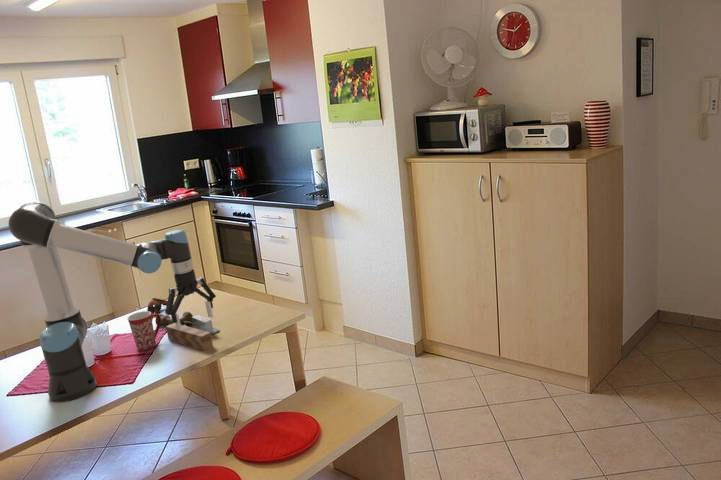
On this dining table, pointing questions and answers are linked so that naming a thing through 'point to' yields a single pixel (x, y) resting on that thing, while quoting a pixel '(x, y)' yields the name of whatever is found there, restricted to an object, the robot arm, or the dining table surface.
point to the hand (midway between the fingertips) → (195, 323)
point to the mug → (144, 329)
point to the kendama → (183, 321)
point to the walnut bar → (190, 336)
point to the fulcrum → (203, 324)
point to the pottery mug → (156, 305)
